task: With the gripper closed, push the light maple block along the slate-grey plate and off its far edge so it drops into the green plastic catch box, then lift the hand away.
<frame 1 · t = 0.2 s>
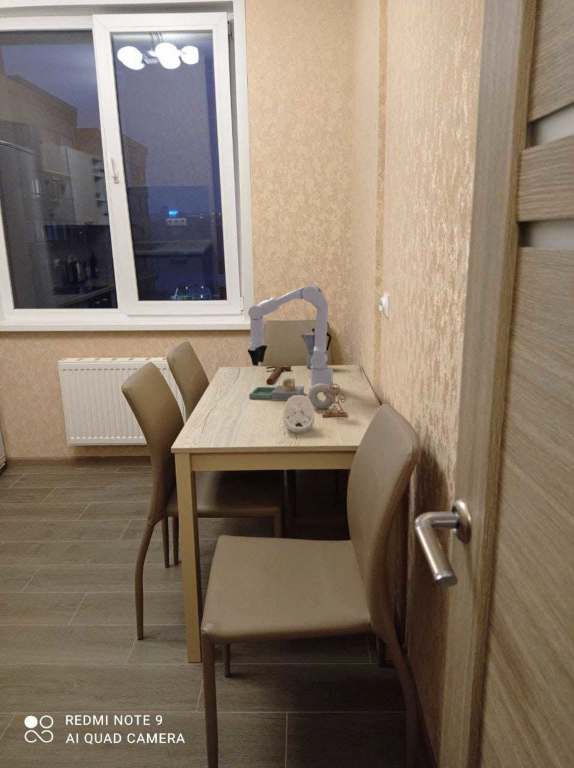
hand: (258, 363, 246), 10 cm above the table, tool pointing down, fingers open, 7 cm apart
slate plate: (288, 396, 231), on the table
catch box: (263, 395, 233), on the table
gingerbread man figurine: (334, 416, 203), on the table
moka pot: (316, 368, 283), on the table
maple block: (289, 389, 230), point 3 cm above the table, touching slate plate
skull bowl: (299, 429, 190), on the table
hammer: (273, 378, 266), on the table
donut: (321, 409, 212), on the table
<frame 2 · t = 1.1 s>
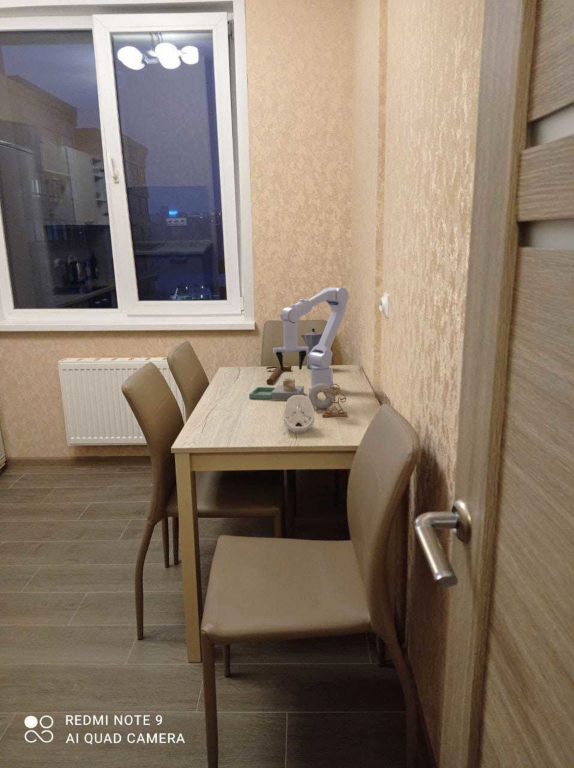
hand: (291, 369, 232), 10 cm above the table, tool pointing down, fingers open, 7 cm apart
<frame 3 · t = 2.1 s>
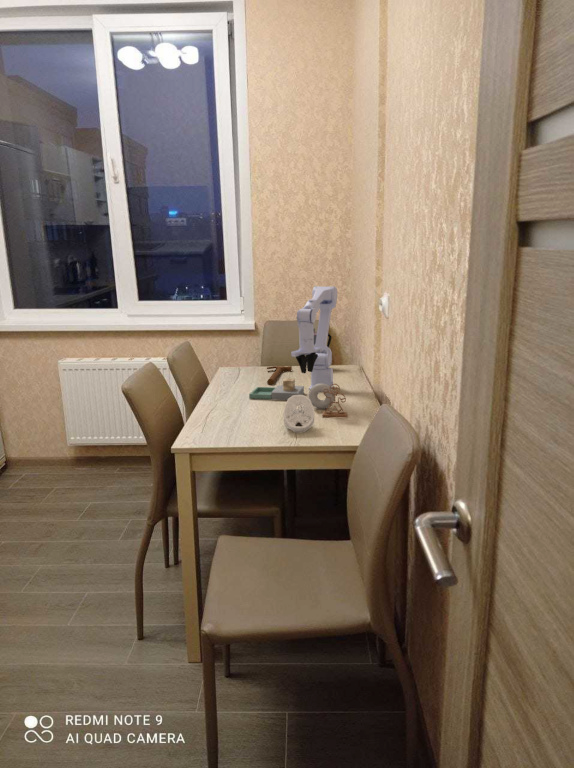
hand: (306, 372, 226), 10 cm above the table, tool pointing down, fingers open, 3 cm apart
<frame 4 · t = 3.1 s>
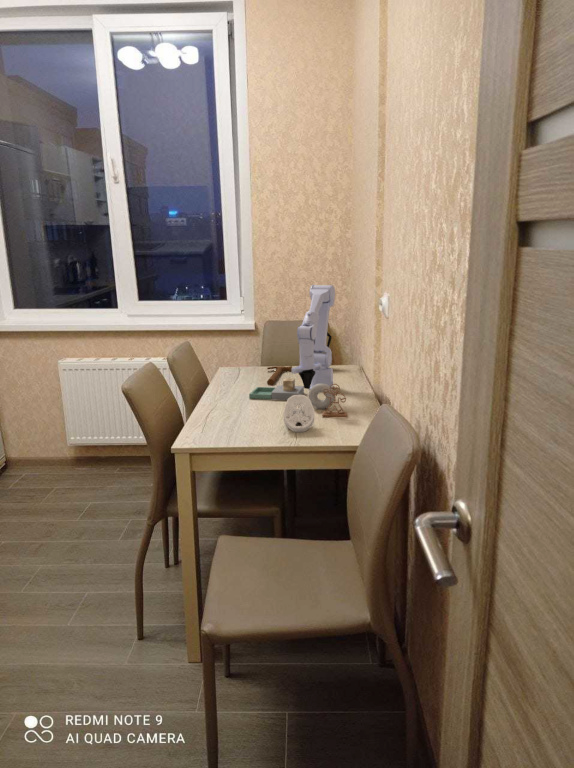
hand: (307, 388, 228), 4 cm above the table, tool pointing down, fingers closed
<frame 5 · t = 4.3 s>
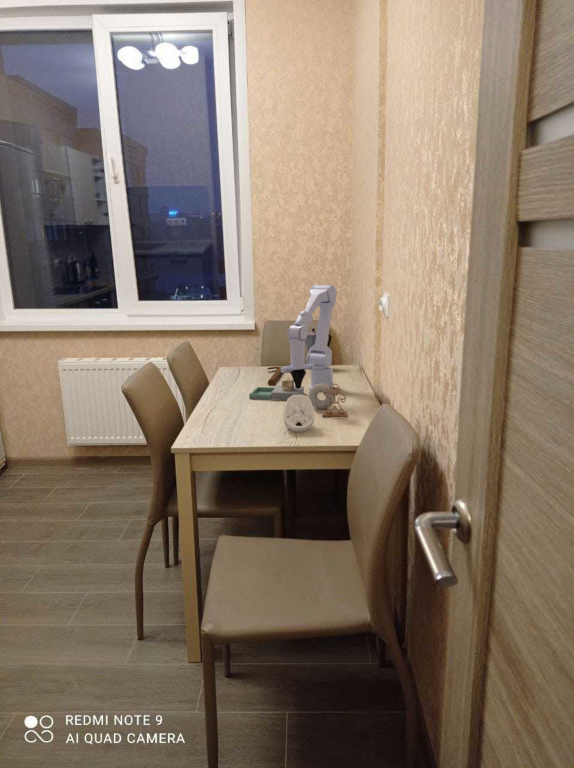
hand: (298, 387, 229), 4 cm above the table, tool pointing down, fingers closed
maple block: (288, 389, 230), point 3 cm above the table, touching gripper, slate plate
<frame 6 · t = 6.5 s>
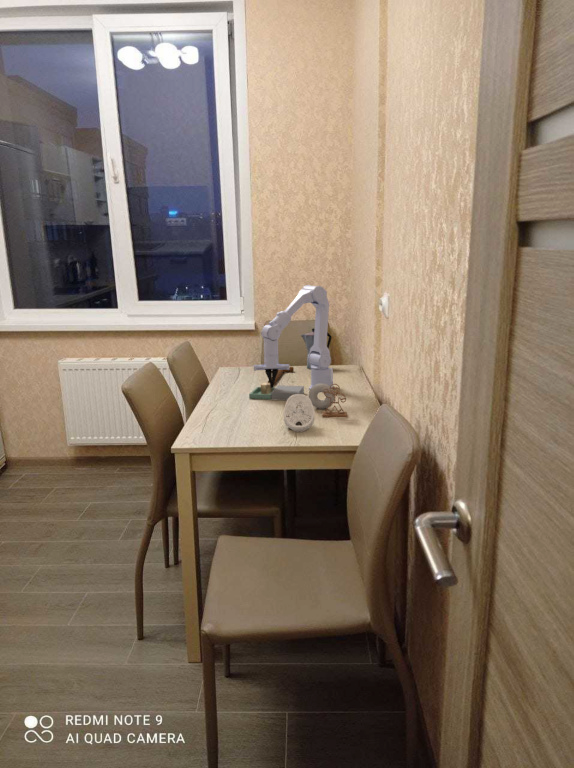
hand: (272, 387, 231), 4 cm above the table, tool pointing down, fingers closed
maple block: (271, 388, 234), point 2 cm above the table, tilted 90°, touching catch box, gripper
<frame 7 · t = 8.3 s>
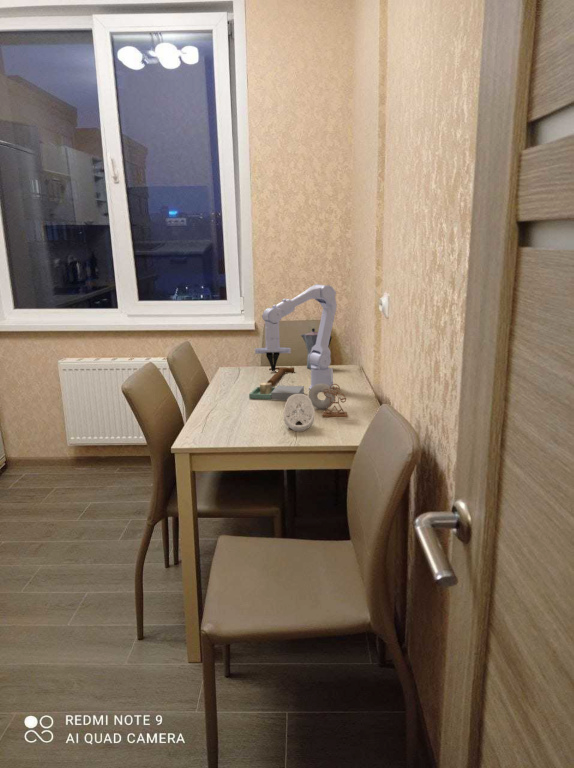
hand: (273, 370, 231), 10 cm above the table, tool pointing down, fingers closed
maple block: (270, 388, 234), point 2 cm above the table, tilted 90°, touching catch box
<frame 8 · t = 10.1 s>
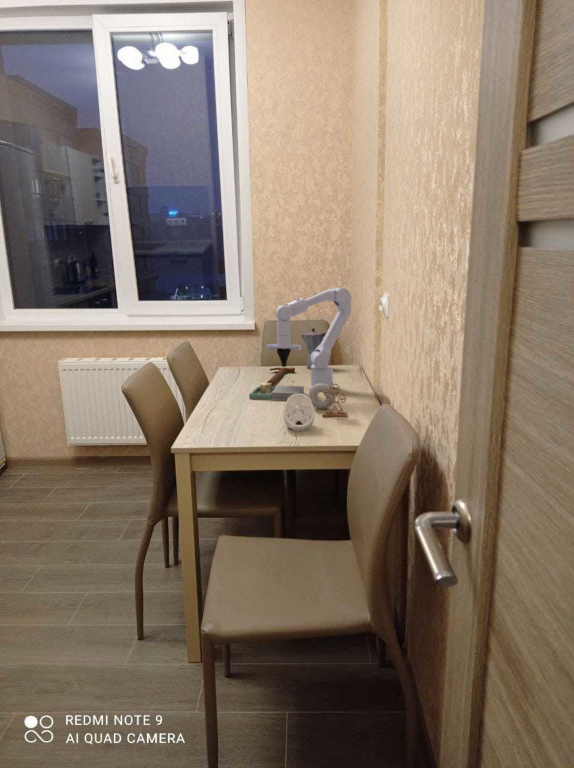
hand: (284, 366, 238), 10 cm above the table, tool pointing down, fingers closed
at the end: maple block inside the target area on the catch box (3.3 cm from its centre), point 2.4 cm above the catch box's base; maple block moved 8.7 cm from its start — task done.
